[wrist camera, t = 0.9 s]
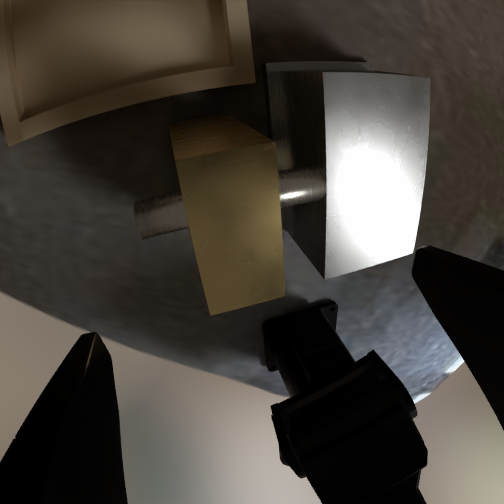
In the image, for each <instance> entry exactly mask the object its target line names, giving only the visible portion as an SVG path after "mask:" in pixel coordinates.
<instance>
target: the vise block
mask: <svg viewBox="0 0 504 504" xmlns="http://www.w3.org/2000/svg"><path fill="white" fill-rule="evenodd" d="M262 65H263V75H264V85H265V95H266V106H267V116H268V127H269V138H270V139H271V140H273V141H275V142H276V151H277V164H278V178H279V192H280V207H281V223H282V239H286V238H291V237H292V238H293V240H294V241H295V242H296V244H297V245H298V246H299V247H300V249H301V250H302V251H303V253H304V254H305V255H306V256H307V258H308V259H309V260H310V262H311V263H312V264H313V266H314V267H315V268H316V269H317V271H318V272H319V273H320V275H321V276H322V277H323V279H324V280H326V279H330V278H333V277H337V276H340V275H343V274H347V273H350V272H354V271H357V270H360V269H363V268H367V267H370V266H373V265H376V264H380V263H383V262H386V261H389V260H392V259H396V258H399V257H402V256H405V255H408V254H411V253H413V250H414V245H415V240H416V234H417V229H418V223H419V216H420V210H421V203H422V196H423V188H424V180H425V171H426V161H427V150H428V136H429V117H430V78H427V77H421V76H414V75H407V74H400V73H392V72H383V71H374V63H367V62H346V61H297V62H275V63H262ZM134 215H135V220H136V224H137V228H138V231H139V234H140V237H141V238H142V239H146V238H150V237H154V236H158V235H162V234H167V233H171V232H175V231H179V230H183V229H188V228H189V225H188V221H187V216H186V212H185V207H184V202H183V197H182V193H181V191H176V192H172V193H168V194H164V195H159V196H155V197H151V198H147V199H143V200H139V201H135V202H134Z"/></svg>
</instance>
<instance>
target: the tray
mask: <svg viewBox="0 0 504 504" xmlns="http://www.w3.org/2000/svg"><path fill="white" fill-rule="evenodd" d="M250 83H256V80H255V70H254V61H253V52H252V43H251V34H250V25H249V17H248V8H247V0H0V115H1V119H2V124H3V128H4V132H5V136H6V140H7V144H8V147H10V146H12V145H15V144H17V143H19V142H22V141H24V140H26V139H29V138H31V137H34V136H36V135H39V134H42V133H44V132H47V131H49V130H52V129H55V128H58V127H60V126H63V125H66V124H69V123H72V122H75V121H78V120H81V119H84V118H87V117H90V116H94V115H97V114H100V113H104V112H107V111H111V110H114V109H118V108H122V107H125V106H129V105H133V104H137V103H141V102H145V101H150V100H154V99H158V98H163V97H168V96H173V95H178V94H183V93H188V92H194V91H200V90H206V89H212V88H219V87H226V86H233V85H241V84H250Z"/></svg>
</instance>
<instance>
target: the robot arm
mask: <svg viewBox="0 0 504 504" xmlns="http://www.w3.org/2000/svg"><path fill="white" fill-rule="evenodd" d="M412 277H413V279H414V281H415V283H416V284H417V286H418V288H419V289H420V291H421V293H422V294H423V296H424V298H425V300H426V301H427V303H428V305H429V307H430V308H431V310H432V312H433V314H434V315H435V317H436V318H437V320H438V322H439V323H440V324H441V326H442V327H443V329H444V330H445V332H446V333H447V335H448V336H449V338H450V339H451V341H452V342H453V344H454V346H455V347H456V349H457V350H458V352H459V353H460V355H461V356H462V358H463V360H464V361H465V363H466V364H467V366H468V368H469V369H470V371H471V372H472V374H473V376H474V377H475V379H476V381H477V383H478V384H479V386H480V387H481V389H482V391H483V393H484V394H485V396H486V398H487V400H488V402H489V403H490V405H491V407H492V409H493V411H494V412H495V414H496V416H497V417H498V420H499V422H500V424H501V426H502V428H503V430H504V271H503V270H500V269H498V268H495V267H492V266H489V265H486V264H483V263H481V262H478V261H475V260H472V259H469V258H466V257H463V256H460V255H457V254H454V253H451V252H448V251H445V250H442V249H439V248H436V247H432V246H424V247H421V248H418V249H417V251H416V253H415V258H414V263H413V267H412ZM331 307H332V308H331ZM337 312H338V305H337V304H336V303H335V302H334V301H331V302H328V303H325V304H321V305H318V306H315V307H312V308H308V309H305V310H302V311H298V312H295V313H291V314H288V315H285V316H281V317H278V318H274V319H270V320H267V321H265V322H264V323H263V324H262V329H263V338H264V347H265V355H266V364H267V368H268V371H270V372H273V371H277V370H279V372H280V374H281V377H282V379H283V381H284V383H285V386H286V388H287V390H288V393H289V395H290V398H288V399H286V400H284V401H282V402H280V403H276V404H273V405H271V410H272V414H273V415H271V416H272V421H273V424H274V428H275V432H276V435H277V439H278V443H279V453H280V460H281V462H282V463H283V464H284V465H287V466H290V467H291V469H292V470H293V471H294V472H295V473H296V475H297V476H298V477H300V478H304V477H307V479H308V481H309V482H310V484H311V486H312V487H313V489H314V491H315V492H316V494H317V496H318V497H319V499H320V500H321V502H322V504H426V502H425V500H424V498H423V496H422V494H421V492H420V490H419V488H418V486H419V480H420V474H421V469H423V468H424V467H426V466H427V456H428V455H427V454H428V451H427V448H426V446H425V444H424V441H423V439H422V437H421V435H420V433H419V431H418V429H417V427H416V425H415V423H414V421H413V418H415V417H416V416H417V410H416V407H415V404H414V402H413V400H412V398H411V396H410V394H409V392H408V391H407V389H406V388H405V386H404V385H403V383H402V382H401V381H400V379H399V378H398V377H397V376H396V375H395V374H394V373H393V371H392V370H391V369H390V368H389V367H388V366H387V365H386V363H385V362H384V361H383V360H382V359H381V358H380V357H379V355H378V354H377V353H376V352H375V351H374V350H372V351H370V352H369V353H367V355H366V356H364V357H363V358H361V359H359V360H358V361H356V362H355V360H354V359H353V357H352V356H351V354H350V353H349V351H348V350H347V348H346V347H345V345H344V344H343V342H342V340H341V339H340V337H339V336H338V334H337V333H336V331H335V330H336V321H337ZM268 326H269V327H268ZM15 438H16V439H13V441H12V443H11V444H10V446H9V448H8V450H7V451H6V453H5V455H4V456H3V458H2V460H1V462H0V504H128V503H127V495H126V487H125V480H124V470H123V460H122V449H121V436H120V420H119V410H118V402H117V396H116V389H115V382H114V374H113V365H112V359H111V355H110V353H109V351H108V350H107V348H106V346H105V344H104V343H103V341H102V339H101V337H100V336H99V334H98V333H96V332H91V333H86V334H83V335H81V336H80V337H79V339H78V340H77V342H76V343H75V344H74V346H73V347H72V349H71V350H70V352H69V353H68V354H67V356H66V357H65V359H64V360H63V362H62V363H61V365H60V366H59V368H58V369H57V371H56V372H55V373H54V375H53V376H52V378H51V379H50V381H49V383H48V384H47V386H46V387H45V389H44V390H43V392H42V393H41V395H40V396H39V398H38V400H37V401H36V403H35V404H34V406H33V408H32V409H31V411H30V412H29V414H28V416H27V417H26V419H25V421H24V422H23V424H22V426H21V427H20V429H19V431H18V432H17V434H16V436H15Z"/></svg>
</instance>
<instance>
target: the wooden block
mask: <svg viewBox="0 0 504 504" xmlns="http://www.w3.org/2000/svg"><path fill="white" fill-rule="evenodd" d="M168 126H169V132H170V137H171V143H172V148H173V153H174V159H175V164H176V169H177V174H178V179H179V184H180V189H181V193H182V197H183V202H184V207H185V212H186V216H187V221H188V225H189V231H190V235H191V239H192V244H193V248H194V252H195V256H196V261H197V265H198V269H199V273H200V277H201V281H202V285H203V289H204V293H205V297H206V301H207V305H208V309H209V312H210V316H212V315H216V314H220V313H224V312H228V311H232V310H235V309H239V308H243V307H247V306H251V305H255V304H258V303H262V302H266V301H269V300H273V299H277V298H280V297H284V296H285V276H284V257H283V239H282V223H281V207H280V192H279V178H278V164H277V151H276V142H275V141H273V140H271V139H270V138H268V137H266V136H264V135H263V134H261V133H259V132H258V131H256V130H254V129H253V128H251V127H249V126H247V125H246V124H244V123H242V122H240V121H238V120H237V119H235V118H233V117H231V116H230V115H228V114H226V113H224V114H218V115H212V116H206V117H201V118H195V119H190V120H185V121H180V122H175V123H170V124H168Z"/></svg>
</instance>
